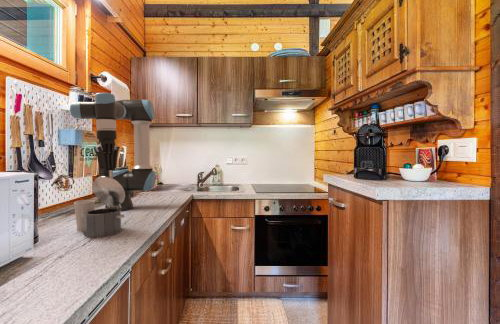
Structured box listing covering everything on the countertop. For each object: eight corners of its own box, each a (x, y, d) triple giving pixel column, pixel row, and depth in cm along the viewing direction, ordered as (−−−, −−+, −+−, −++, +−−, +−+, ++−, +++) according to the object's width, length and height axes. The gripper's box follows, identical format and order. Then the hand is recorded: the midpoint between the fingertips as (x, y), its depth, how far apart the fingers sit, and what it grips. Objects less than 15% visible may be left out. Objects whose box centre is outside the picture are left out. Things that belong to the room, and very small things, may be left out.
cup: (86, 231, 118) (85, 203, 118) (70, 230, 120) (69, 203, 119) (99, 226, 126) (99, 200, 125) (84, 225, 127) (83, 199, 127)
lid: (99, 207, 124) (103, 203, 126) (128, 208, 121) (132, 204, 123) (87, 176, 117) (92, 173, 119) (118, 177, 114) (122, 173, 116)
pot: (98, 226, 126) (97, 205, 125) (135, 228, 122) (134, 206, 121) (70, 236, 111) (70, 212, 111) (112, 238, 107) (111, 213, 107)
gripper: (109, 131, 125) (111, 183, 126) (87, 129, 112) (89, 187, 113) (124, 130, 123) (126, 183, 124) (103, 128, 111) (106, 187, 112)
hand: (109, 185), depth 119 cm, fingers closed
